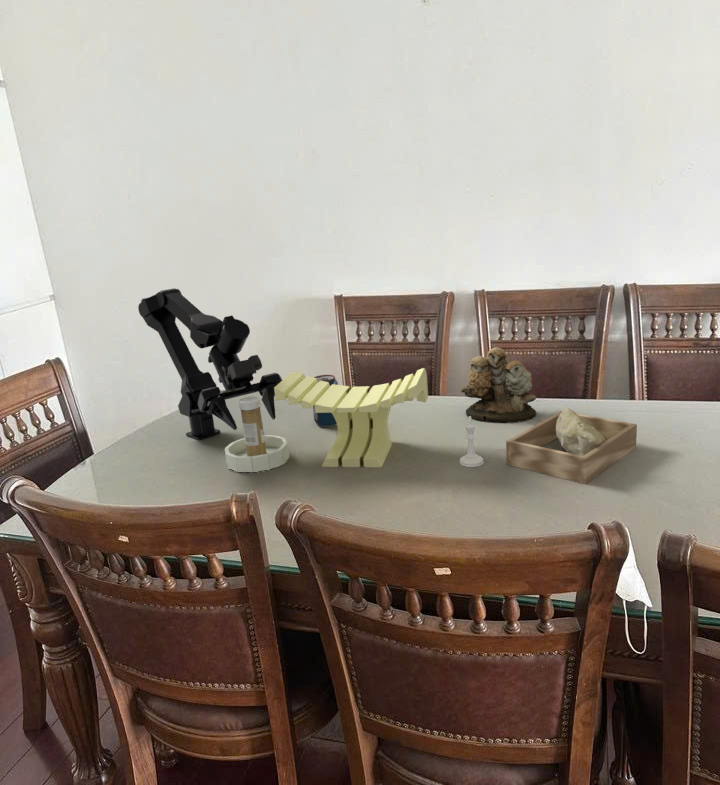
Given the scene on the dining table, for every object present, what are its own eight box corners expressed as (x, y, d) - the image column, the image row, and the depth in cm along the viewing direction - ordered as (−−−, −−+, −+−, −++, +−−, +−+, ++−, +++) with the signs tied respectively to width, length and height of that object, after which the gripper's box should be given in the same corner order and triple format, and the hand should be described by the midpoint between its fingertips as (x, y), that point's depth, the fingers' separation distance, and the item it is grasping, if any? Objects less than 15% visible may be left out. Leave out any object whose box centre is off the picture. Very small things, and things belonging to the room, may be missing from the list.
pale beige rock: (564, 446, 148) (527, 418, 139) (588, 421, 147) (552, 392, 138) (608, 489, 136) (571, 463, 127) (634, 464, 135) (598, 435, 126)
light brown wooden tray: (506, 464, 136) (506, 441, 135) (561, 432, 151) (561, 410, 149) (585, 484, 124) (585, 459, 123) (636, 447, 139) (636, 424, 138)
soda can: (347, 420, 171) (342, 375, 168) (331, 429, 166) (326, 382, 162) (324, 417, 175) (320, 373, 172) (309, 426, 170) (304, 380, 166)
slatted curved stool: (430, 439, 153) (426, 364, 148) (421, 467, 138) (416, 384, 133) (305, 439, 160) (296, 367, 155) (283, 466, 145) (273, 387, 140)
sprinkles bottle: (271, 454, 150) (263, 397, 146) (256, 461, 146) (248, 403, 143) (257, 451, 153) (249, 394, 149) (242, 458, 149) (234, 400, 145)
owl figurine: (459, 423, 163) (455, 354, 158) (464, 408, 173) (461, 343, 169) (536, 423, 158) (534, 352, 153) (536, 407, 169) (535, 341, 164)
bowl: (215, 464, 150) (212, 449, 149) (263, 445, 159) (261, 431, 158) (251, 478, 140) (249, 462, 139) (300, 457, 150) (299, 442, 149)
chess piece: (485, 458, 140) (483, 413, 137) (481, 467, 136) (479, 421, 133) (462, 457, 142) (460, 412, 139) (457, 466, 137) (455, 420, 134)
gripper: (194, 353, 141) (221, 415, 135) (273, 337, 150) (302, 394, 144) (187, 382, 150) (212, 441, 144) (263, 365, 159) (289, 420, 153)
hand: (255, 423), depth 146 cm, fingers open, 9 cm apart
